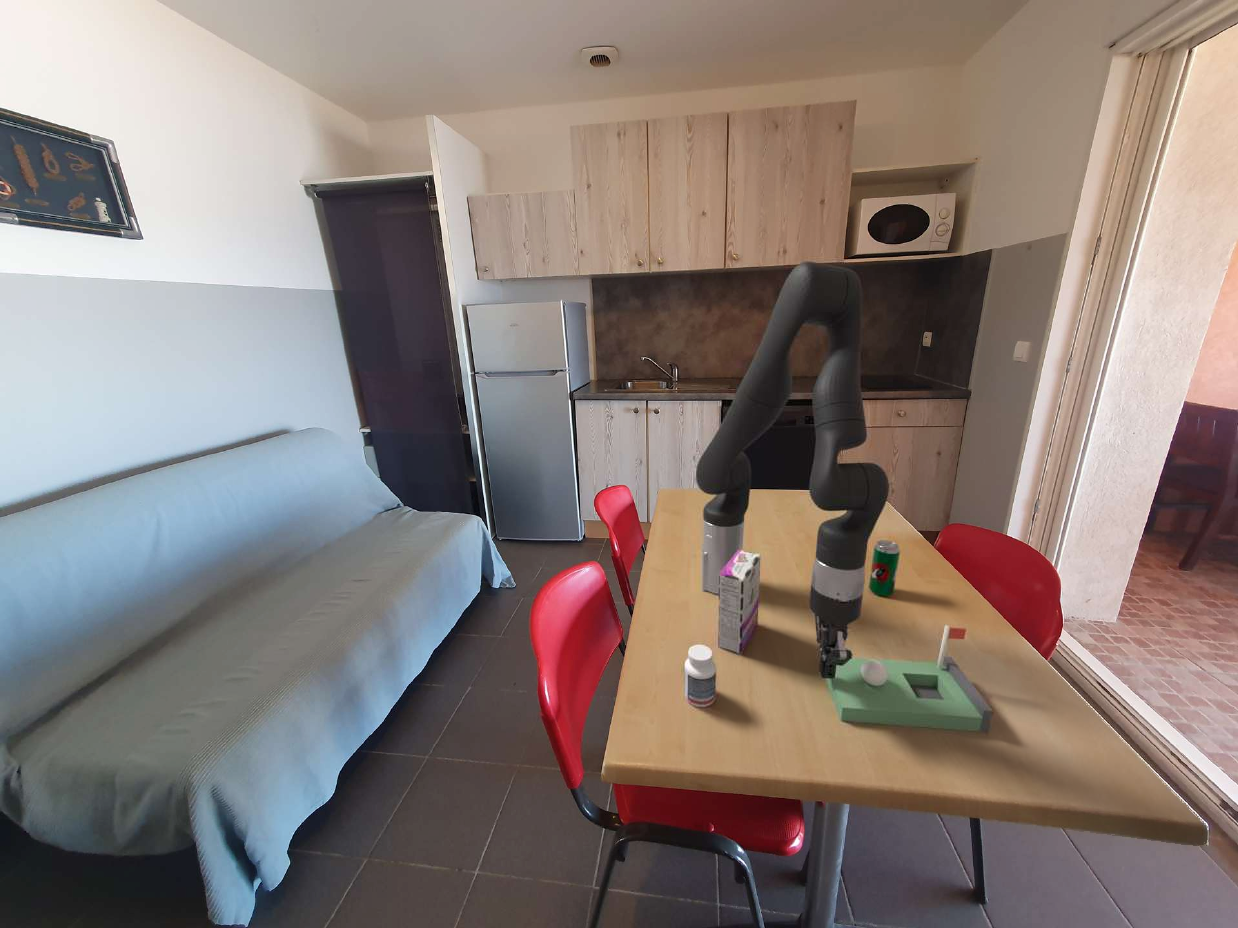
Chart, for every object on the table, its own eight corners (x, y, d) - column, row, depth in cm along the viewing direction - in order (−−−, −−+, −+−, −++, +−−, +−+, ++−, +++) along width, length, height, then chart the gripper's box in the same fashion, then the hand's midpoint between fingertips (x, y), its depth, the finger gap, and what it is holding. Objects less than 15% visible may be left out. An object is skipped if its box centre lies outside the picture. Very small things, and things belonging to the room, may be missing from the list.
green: (840, 720, 76) (848, 662, 72) (820, 667, 87) (826, 615, 84) (991, 732, 72) (1006, 672, 69) (950, 675, 84) (961, 622, 81)
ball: (864, 690, 78) (867, 670, 77) (855, 673, 82) (858, 653, 81) (890, 692, 77) (893, 671, 76) (880, 674, 81) (883, 655, 80)
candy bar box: (734, 617, 102) (737, 548, 97) (758, 624, 100) (762, 553, 95) (715, 647, 93) (718, 572, 88) (740, 655, 91) (744, 579, 86)
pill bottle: (721, 703, 80) (722, 659, 77) (692, 711, 78) (693, 666, 76) (706, 681, 85) (707, 639, 82) (679, 688, 83) (679, 645, 81)
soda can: (896, 598, 107) (904, 550, 103) (872, 596, 108) (878, 548, 104) (889, 586, 111) (896, 540, 108) (865, 584, 112) (871, 538, 109)
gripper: (802, 563, 82) (795, 648, 87) (823, 607, 69) (813, 703, 75) (848, 564, 81) (838, 650, 86) (878, 610, 68) (864, 707, 73)
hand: (826, 675), depth 80 cm, fingers closed
